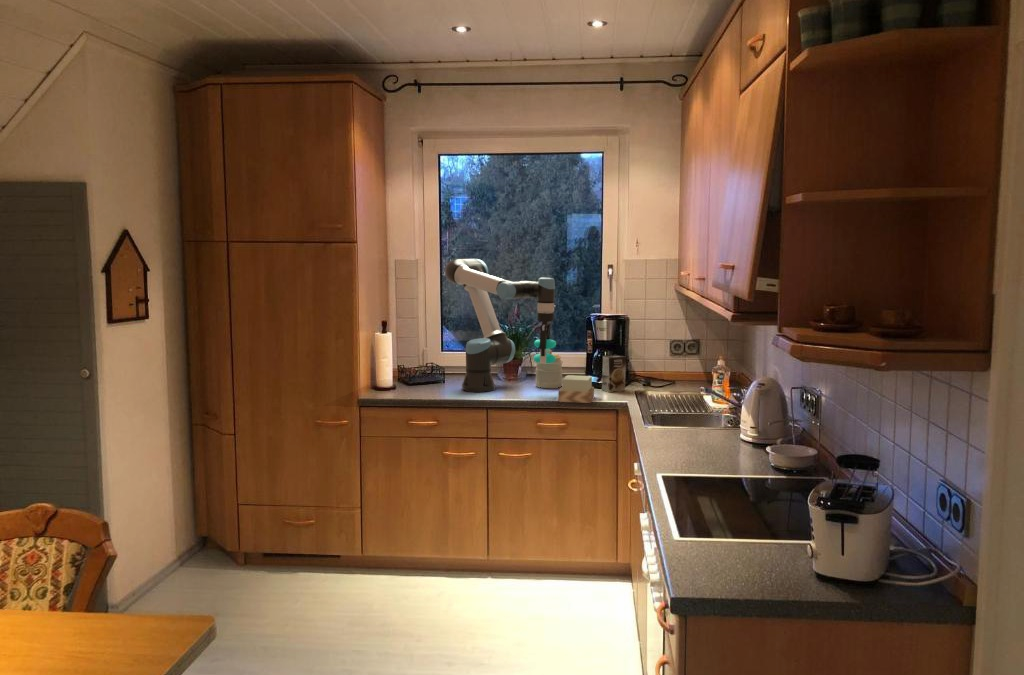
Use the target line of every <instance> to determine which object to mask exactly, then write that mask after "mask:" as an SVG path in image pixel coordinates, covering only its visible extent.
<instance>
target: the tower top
mask: <svg viewBox="0 0 1024 675" xmlns="http://www.w3.org/2000/svg"><path fill="white" fill-rule="evenodd" d="M592 379H593V376H592V375H591V376H590V375H574V374H571V375H566V376H564V377H562V391H579V392H588V391H589V390H590V389H591V388H592V387H593V383H592V382H593V380H592Z"/></svg>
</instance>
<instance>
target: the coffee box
mask: <svg viewBox="0 0 1024 675" xmlns="http://www.w3.org/2000/svg"><path fill="white" fill-rule="evenodd" d="M626 366H627V357H626V356H624V355H618V354H617V355H603V356H602V369H601V370H602V374H601V375H602V376H601V378H602V379H601V390H602V391H603V390H604V392H607V391H608V393H614V392H613V391H618V392H623V391H622V390H625V391H626Z"/></svg>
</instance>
